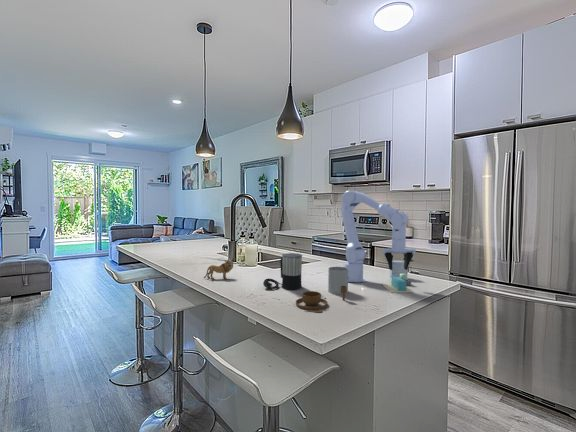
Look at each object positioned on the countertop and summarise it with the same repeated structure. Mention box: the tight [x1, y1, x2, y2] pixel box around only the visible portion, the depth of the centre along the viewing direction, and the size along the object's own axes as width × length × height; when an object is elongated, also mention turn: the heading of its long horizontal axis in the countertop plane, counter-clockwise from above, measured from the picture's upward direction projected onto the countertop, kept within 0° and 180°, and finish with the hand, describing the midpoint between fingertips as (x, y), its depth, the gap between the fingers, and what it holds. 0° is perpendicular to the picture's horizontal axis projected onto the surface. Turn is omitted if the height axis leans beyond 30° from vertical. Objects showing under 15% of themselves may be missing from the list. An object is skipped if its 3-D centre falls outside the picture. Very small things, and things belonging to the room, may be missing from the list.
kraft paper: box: [382, 284, 412, 293], centre depth 144 cm, size 9×12×1 cm
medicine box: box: [389, 260, 409, 279], centre depth 164 cm, size 8×4×9 cm, turn 84°
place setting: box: [295, 286, 347, 314], centre depth 121 cm, size 18×20×6 cm
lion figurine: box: [203, 259, 234, 280], centre depth 162 cm, size 15×5×9 cm, turn 103°
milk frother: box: [262, 252, 303, 291], centre depth 145 cm, size 14×16×15 cm
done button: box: [400, 273, 408, 281], centre depth 152 cm, size 3×3×3 cm
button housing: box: [406, 278, 412, 286], centre depth 152 cm, size 5×5×2 cm
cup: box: [327, 266, 349, 295], centre depth 139 cm, size 8×8×10 cm
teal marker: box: [390, 277, 407, 291], centre depth 145 cm, size 3×11×4 cm, turn 1°
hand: (398, 269), depth 145 cm, fingers open, 6 cm apart
